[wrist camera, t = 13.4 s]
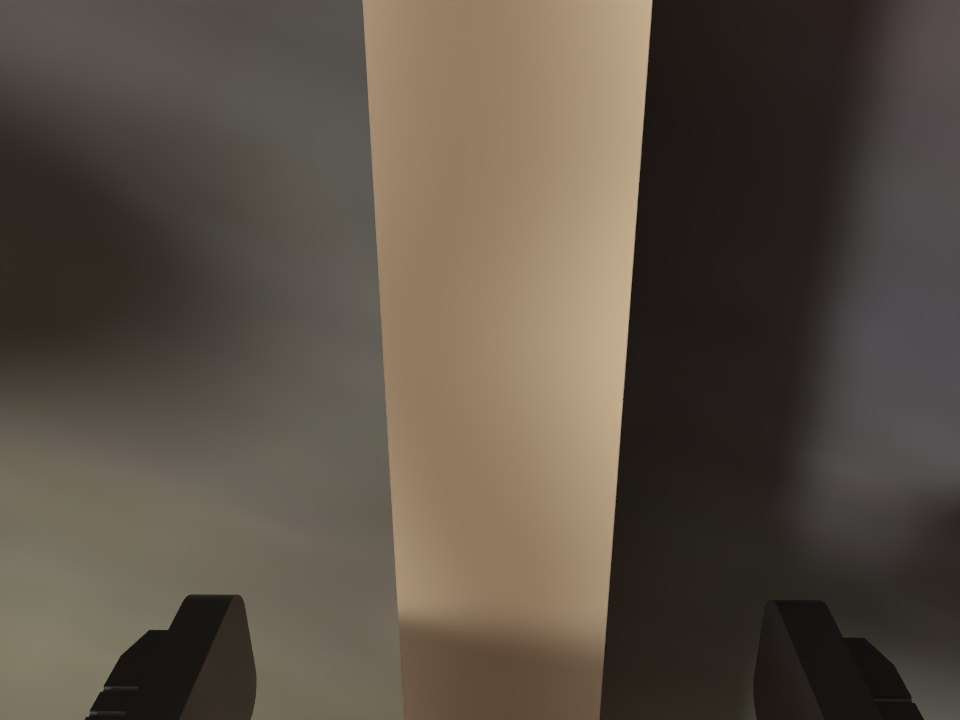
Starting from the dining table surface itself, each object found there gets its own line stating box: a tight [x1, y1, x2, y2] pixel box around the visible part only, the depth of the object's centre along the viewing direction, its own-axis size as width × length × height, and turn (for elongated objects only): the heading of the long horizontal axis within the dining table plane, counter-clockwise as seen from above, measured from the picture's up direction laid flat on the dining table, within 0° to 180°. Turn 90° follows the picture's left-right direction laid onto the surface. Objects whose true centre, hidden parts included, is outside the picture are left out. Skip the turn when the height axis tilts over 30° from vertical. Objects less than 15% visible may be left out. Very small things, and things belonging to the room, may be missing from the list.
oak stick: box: [363, 0, 652, 720], centre depth 14 cm, size 3×20×4 cm, turn 0°
